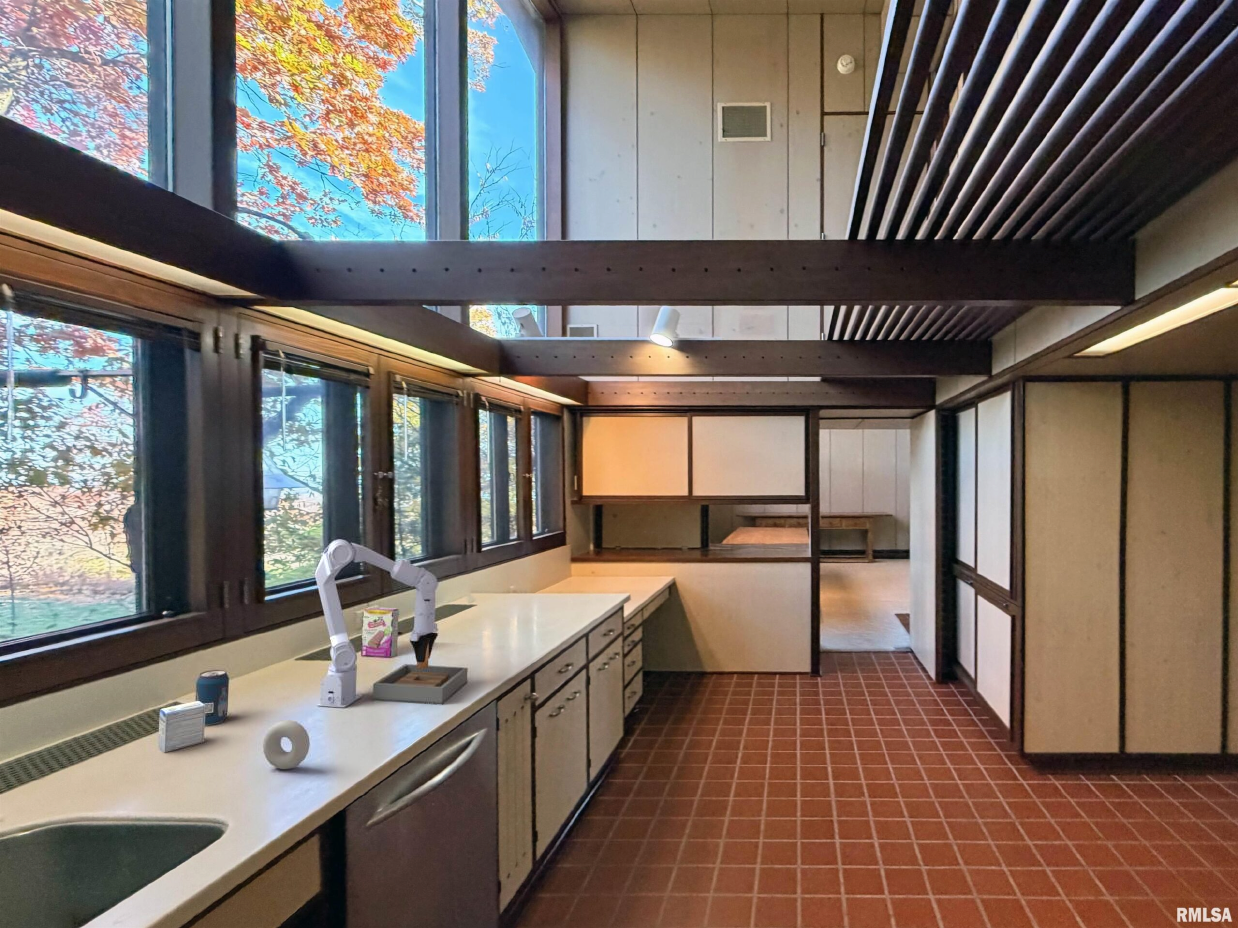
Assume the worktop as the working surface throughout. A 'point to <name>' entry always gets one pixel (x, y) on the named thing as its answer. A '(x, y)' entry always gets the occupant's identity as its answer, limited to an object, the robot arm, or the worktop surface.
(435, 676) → the socket block
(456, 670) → the tray
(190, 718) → the medicine box
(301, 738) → the donut
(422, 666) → the peg
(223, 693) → the soda can
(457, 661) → the worktop surface
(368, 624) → the candy bar box
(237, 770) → the worktop surface
